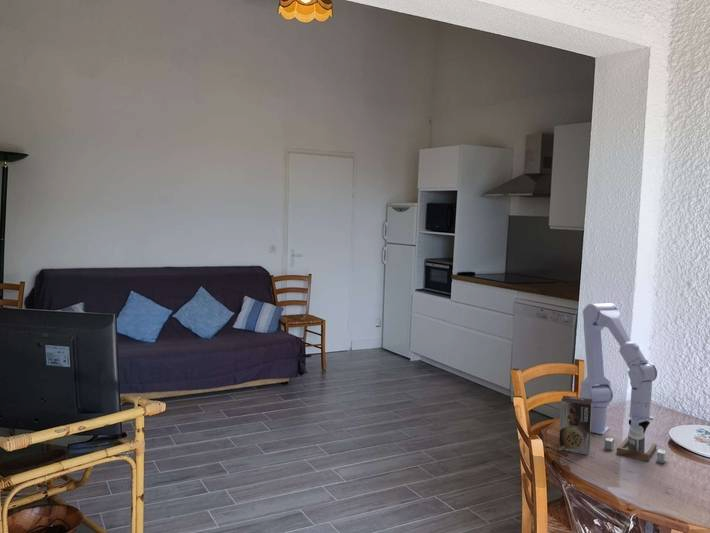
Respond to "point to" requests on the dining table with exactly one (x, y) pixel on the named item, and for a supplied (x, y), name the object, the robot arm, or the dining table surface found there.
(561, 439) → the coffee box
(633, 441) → the pill bottle
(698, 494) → the dining table surface
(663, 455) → the white cubes brown bar
